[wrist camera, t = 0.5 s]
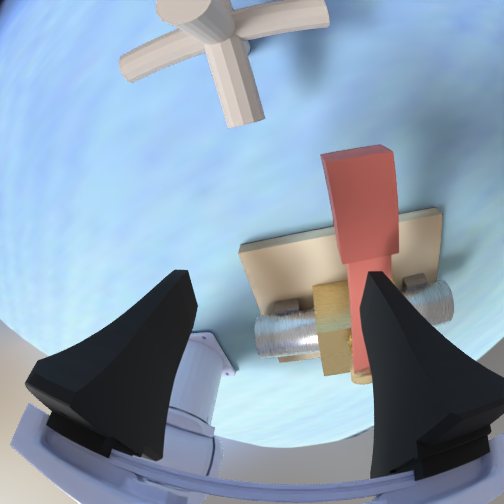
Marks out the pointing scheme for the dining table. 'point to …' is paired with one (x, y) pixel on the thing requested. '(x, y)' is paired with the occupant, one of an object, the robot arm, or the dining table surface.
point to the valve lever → (363, 227)
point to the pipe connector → (222, 45)
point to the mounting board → (332, 262)
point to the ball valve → (338, 321)
